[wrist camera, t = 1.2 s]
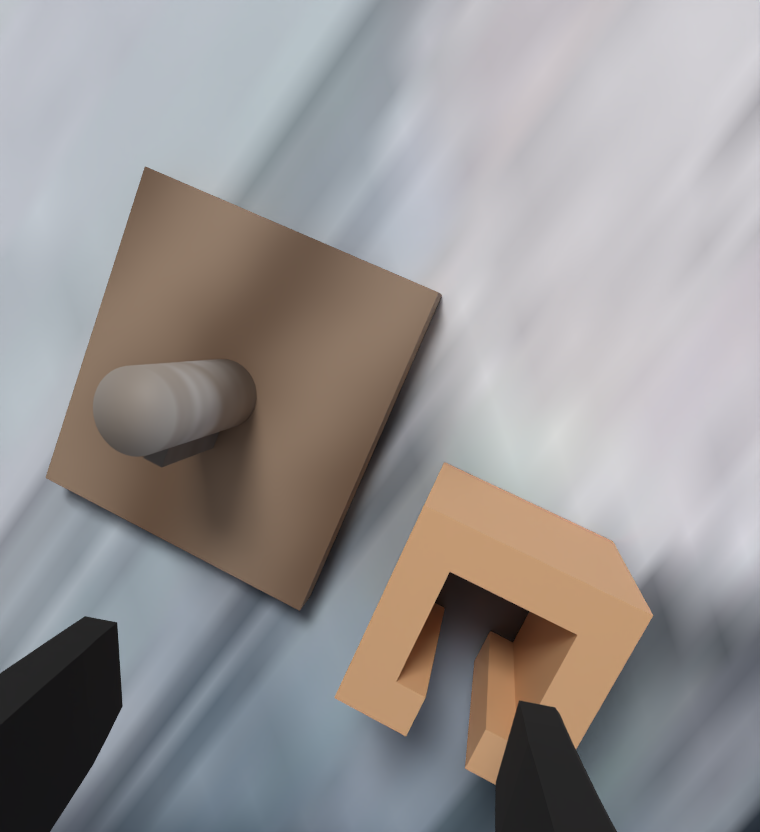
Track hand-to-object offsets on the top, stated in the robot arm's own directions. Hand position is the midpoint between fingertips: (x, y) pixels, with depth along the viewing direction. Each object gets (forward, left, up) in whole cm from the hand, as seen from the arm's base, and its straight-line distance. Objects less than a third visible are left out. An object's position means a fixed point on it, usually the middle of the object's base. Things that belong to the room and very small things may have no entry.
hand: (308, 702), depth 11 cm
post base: (+7, -2, -9) cm, 12 cm away
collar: (-3, 0, -9) cm, 10 cm away
